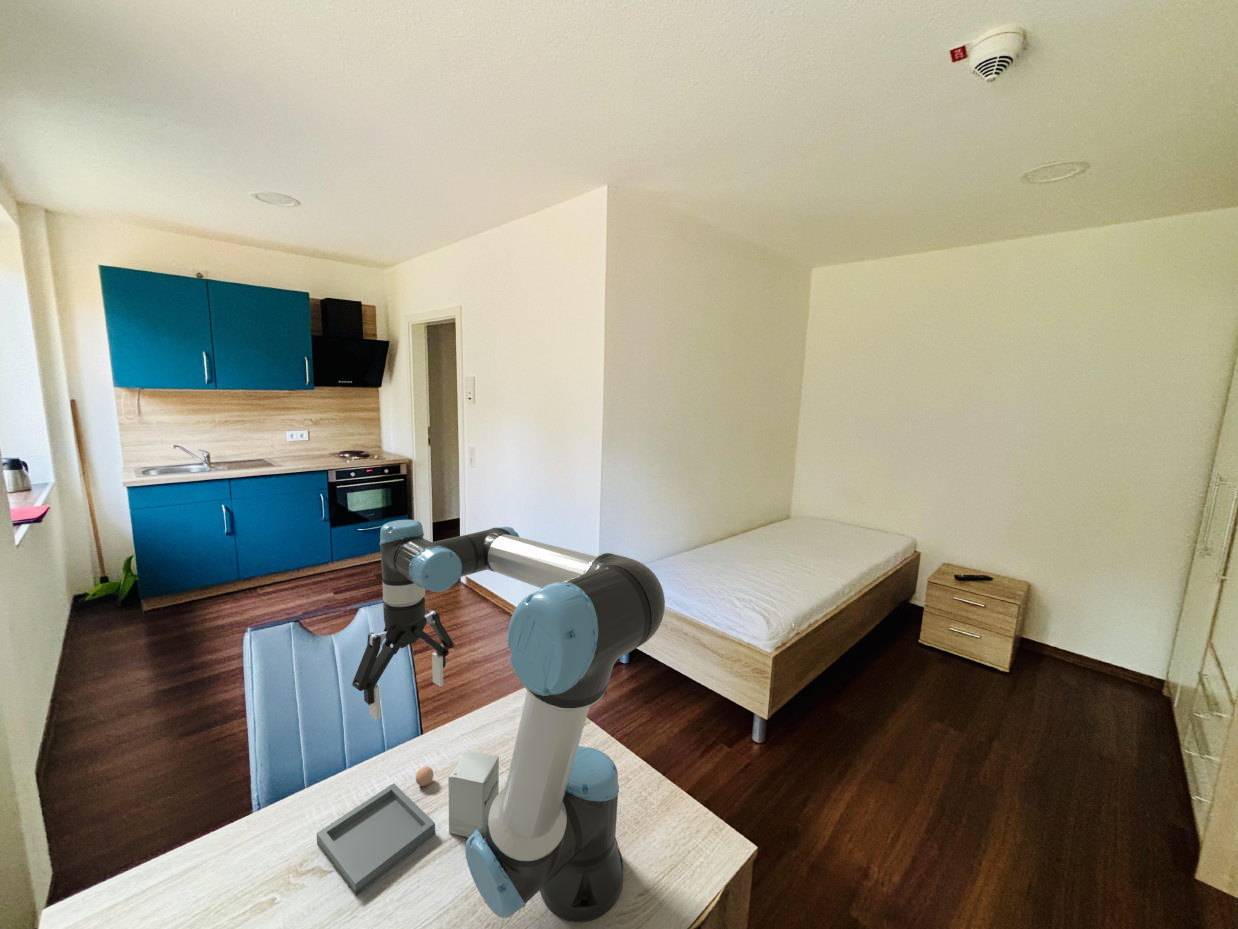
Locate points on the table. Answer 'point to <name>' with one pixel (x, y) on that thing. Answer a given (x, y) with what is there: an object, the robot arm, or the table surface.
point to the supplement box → (472, 792)
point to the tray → (375, 837)
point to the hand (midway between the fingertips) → (408, 699)
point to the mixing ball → (424, 776)
